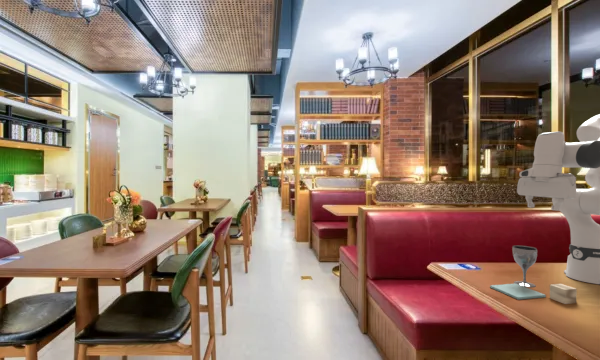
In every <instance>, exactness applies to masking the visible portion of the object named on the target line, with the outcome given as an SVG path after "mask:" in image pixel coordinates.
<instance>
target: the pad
mask: <svg viewBox="0 0 600 360" xmlns="http://www.w3.org/2000/svg"><path fill="white" fill-rule="evenodd" d="M489 287H490V288H491V289H492V290H495V291H496V292H497V291H498V292H499V293H501V294H505V295H507V296H509V297H511V298H513V299H516V300H518V301H519V300H530V299H531V300H532V299H541V298H546V297H547V295H546V294H545V293H542V292H539V291H538V290H537V291H536V290H534V289H532V288H530V287H524V286H521V285H518V284H516V283H505V284H490V285H489Z"/></svg>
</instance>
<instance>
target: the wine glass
mask: <svg viewBox="0 0 600 360" xmlns="http://www.w3.org/2000/svg"><path fill="white" fill-rule="evenodd" d="M512 256H513V259H514V261H515V263H516V264H517V265H518V266H520V268H521V270H522V274H523V277H522V278H523V280H521V281H520V280H516V281H513V284H515V283H516V284H518V285H521V286H524V287H526V288H537V287H536V286H537V285H536V284H534V283H533V282H532V283H531V282H528V281H527V279H526V278H527V271H528V269H529V268H531V267H532V266H533V265H535V263H536V261H537V257H538V249H537V247H534V246H527V245H512Z"/></svg>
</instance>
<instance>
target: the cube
mask: <svg viewBox="0 0 600 360" xmlns="http://www.w3.org/2000/svg"><path fill="white" fill-rule="evenodd" d="M577 294H578V293H577V288H576V287H573V286H569V285H566V284H563V283H554V284H553V283H552V284H549V299H551V300H554V301H556V302H559V303H562V304H564V305H569V304H571V305H572V304H577V303H578V302H577V299H578V298H577Z"/></svg>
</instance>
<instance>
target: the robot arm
mask: <svg viewBox="0 0 600 360" xmlns="http://www.w3.org/2000/svg"><path fill="white" fill-rule="evenodd" d="M576 137H577V140H578V141H579V142H578V141H575V142H567V141H565V132H563V131H551V132H550V131H549V132H548V131H547V132H541V133H540V134H538V136H537V138H536V140H535V144H534V149H533V150H534V151H533V156H534V158H533V159H534V160H533V163H532V167H530V168H528V169H525V170H522V171H520V172H519V175H518V176H519V177H520V178H519V179H518V182H517V187H516V193H517V194H518V195H519V196H525V200H526V203H527V208H530V209H531V208H532V209H533V208H535V206H536V204H535V203H536V202H535V203H534V202H533V199H534V197H539V198H540V197H541V198H551V203H552V205H551V210H552V211H558V212H560V213H561V214H562V215H563V216H564V217H565V219H566V221H567V223H568V226H569V231H570V244H569V247H568V249H569V253H570V254H569V255H567V261H566V267H565V268H566V269H564V270H563V273H564V274H565V276H566V277H568V278H570V279H572V280H577V281H579V282H585V283H589V284H594V285H595V284H596V285H600V224H599V223H597V222H596V221H595V220H594V219H593V218H592V216H591V215H595V216H600V113H599V114H596V115H594V116H592V117H590V118H589V119H587V120H586V121H584V122H583V123H582V124H581V125H579V127H578V128H577V130H576ZM563 168H571V169H572V168H584V169H588V171H587V173H586V174H585V178H584V180H585V182H586V184H587V185H588V186H590V188H577V183H576V182H577V177H576V175H574V174H573V173H564V172H563Z"/></svg>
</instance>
